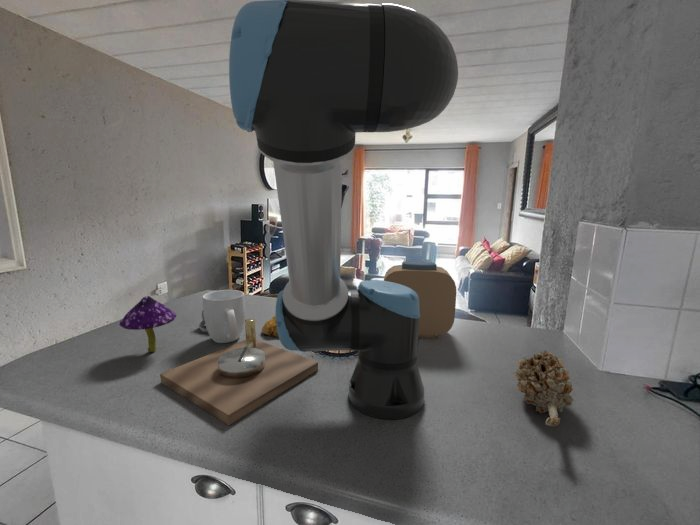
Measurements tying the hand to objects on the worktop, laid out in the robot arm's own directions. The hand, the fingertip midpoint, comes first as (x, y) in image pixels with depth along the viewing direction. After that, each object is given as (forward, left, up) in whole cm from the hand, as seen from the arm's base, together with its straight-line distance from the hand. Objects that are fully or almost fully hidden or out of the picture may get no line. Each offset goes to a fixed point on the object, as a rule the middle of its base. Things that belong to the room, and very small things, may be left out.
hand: (323, 249), depth 87 cm
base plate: (+4, +24, -26) cm, 36 cm away
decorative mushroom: (+33, +30, -27) cm, 52 cm away
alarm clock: (-17, -23, -27) cm, 39 cm away
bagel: (+17, +1, -27) cm, 32 cm away
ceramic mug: (+35, +10, -27) cm, 45 cm away
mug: (+24, +14, -27) cm, 38 cm away
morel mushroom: (-53, 0, -27) cm, 59 cm away
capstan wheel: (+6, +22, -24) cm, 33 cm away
